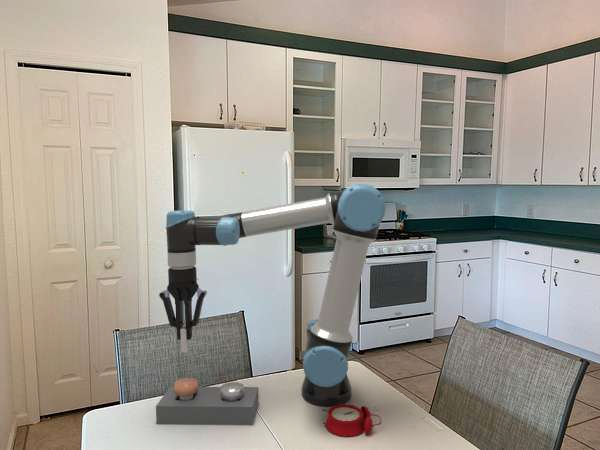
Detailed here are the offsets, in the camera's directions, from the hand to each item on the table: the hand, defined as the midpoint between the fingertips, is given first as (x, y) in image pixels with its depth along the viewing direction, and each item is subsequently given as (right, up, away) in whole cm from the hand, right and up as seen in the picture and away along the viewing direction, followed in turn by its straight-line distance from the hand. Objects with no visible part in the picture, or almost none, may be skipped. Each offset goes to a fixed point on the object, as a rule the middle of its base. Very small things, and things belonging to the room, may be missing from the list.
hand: (185, 350), depth 125 cm
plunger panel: (+7, -18, +1) cm, 19 cm away
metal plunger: (+13, -18, +1) cm, 22 cm away
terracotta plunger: (0, -17, +1) cm, 17 cm away
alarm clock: (+46, -19, -6) cm, 50 cm away
